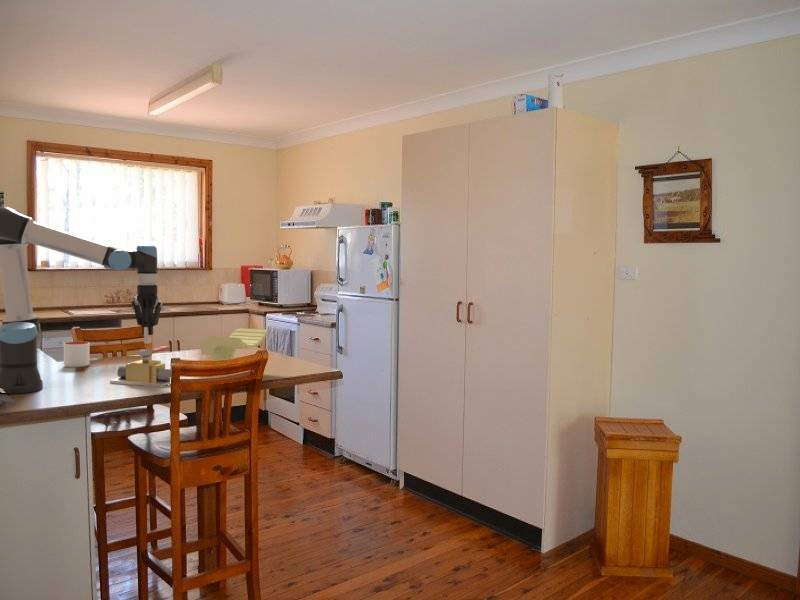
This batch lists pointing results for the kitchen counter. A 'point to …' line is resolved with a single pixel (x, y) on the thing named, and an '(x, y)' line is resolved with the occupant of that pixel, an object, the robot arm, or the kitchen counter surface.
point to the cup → (76, 354)
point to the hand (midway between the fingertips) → (147, 342)
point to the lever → (153, 350)
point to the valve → (143, 373)
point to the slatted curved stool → (232, 343)
